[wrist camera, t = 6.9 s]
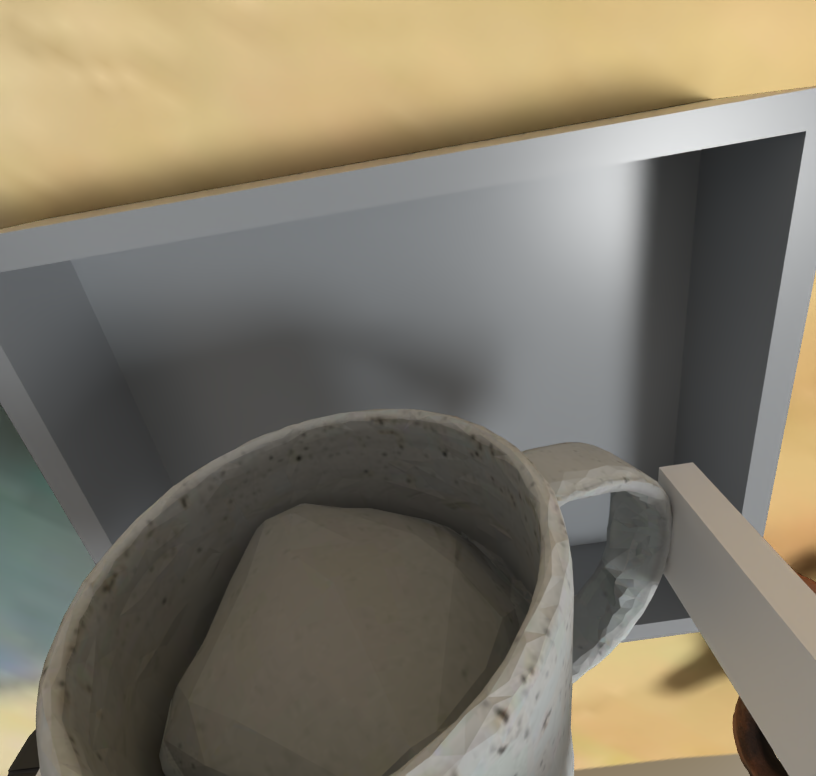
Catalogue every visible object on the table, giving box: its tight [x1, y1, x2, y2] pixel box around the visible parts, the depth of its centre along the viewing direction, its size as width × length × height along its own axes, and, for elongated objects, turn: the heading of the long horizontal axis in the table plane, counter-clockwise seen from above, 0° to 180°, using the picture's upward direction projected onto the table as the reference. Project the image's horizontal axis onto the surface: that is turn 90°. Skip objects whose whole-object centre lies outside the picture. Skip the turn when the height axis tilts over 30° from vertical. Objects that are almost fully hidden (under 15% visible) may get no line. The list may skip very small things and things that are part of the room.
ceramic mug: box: [36, 409, 673, 776], centre depth 9 cm, size 11×8×8 cm
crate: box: [0, 86, 816, 643], centre depth 17 cm, size 21×17×5 cm
